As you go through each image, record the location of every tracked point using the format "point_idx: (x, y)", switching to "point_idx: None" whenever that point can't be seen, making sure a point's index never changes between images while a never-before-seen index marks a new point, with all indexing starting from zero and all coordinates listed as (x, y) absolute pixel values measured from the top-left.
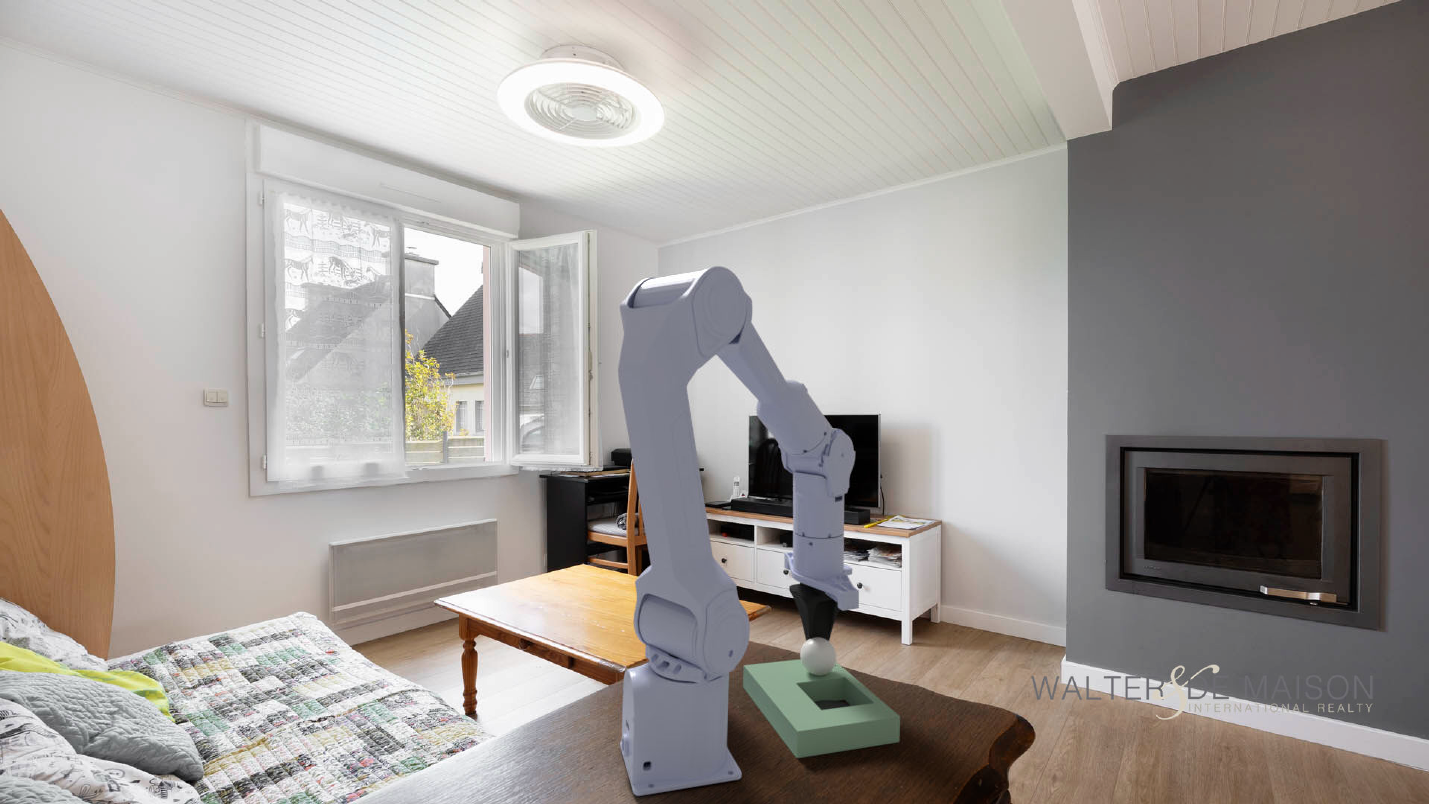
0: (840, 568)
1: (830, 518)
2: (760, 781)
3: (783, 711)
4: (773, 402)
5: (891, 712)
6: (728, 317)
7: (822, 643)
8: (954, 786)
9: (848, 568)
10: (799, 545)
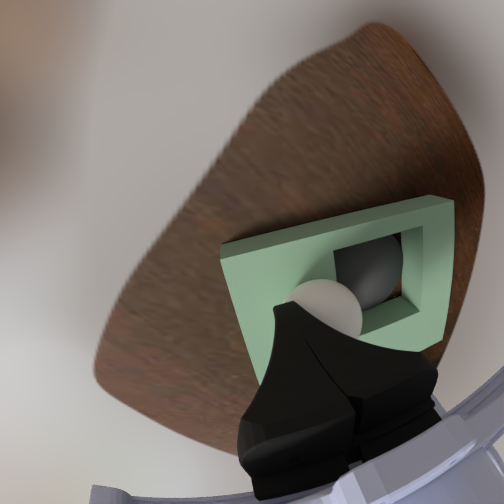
0: (496, 467)
1: None
2: (436, 351)
3: None
4: None
5: (446, 209)
6: None
7: (353, 336)
8: (482, 175)
9: (456, 459)
10: None
